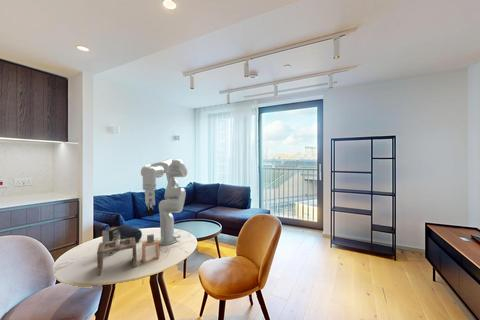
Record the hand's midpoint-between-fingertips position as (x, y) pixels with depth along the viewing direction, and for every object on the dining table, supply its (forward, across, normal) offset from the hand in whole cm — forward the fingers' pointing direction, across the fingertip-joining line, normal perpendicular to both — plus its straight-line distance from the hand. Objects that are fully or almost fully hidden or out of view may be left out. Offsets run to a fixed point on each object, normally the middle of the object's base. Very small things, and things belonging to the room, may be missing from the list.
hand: (149, 214), depth 137 cm
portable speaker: (+28, +43, +11) cm, 53 cm away
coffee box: (+28, +23, +22) cm, 43 cm away
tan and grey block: (+28, 0, 0) cm, 28 cm away
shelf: (+28, 0, +18) cm, 33 cm away
